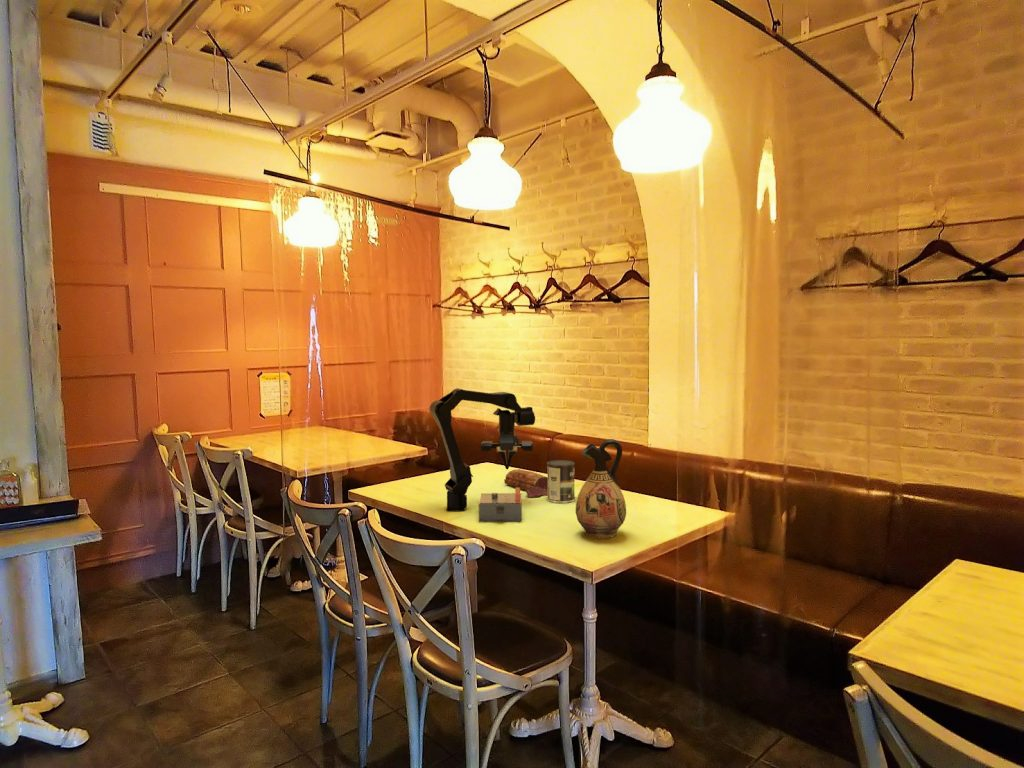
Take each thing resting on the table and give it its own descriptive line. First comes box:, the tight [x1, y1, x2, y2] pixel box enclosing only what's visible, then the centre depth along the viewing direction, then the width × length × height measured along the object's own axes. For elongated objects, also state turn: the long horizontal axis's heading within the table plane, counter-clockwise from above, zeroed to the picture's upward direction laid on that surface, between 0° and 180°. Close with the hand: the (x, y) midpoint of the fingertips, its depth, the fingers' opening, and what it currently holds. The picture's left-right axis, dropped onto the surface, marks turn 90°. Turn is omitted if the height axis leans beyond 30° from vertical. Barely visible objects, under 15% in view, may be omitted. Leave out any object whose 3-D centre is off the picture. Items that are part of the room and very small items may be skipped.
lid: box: [478, 487, 522, 505], centre depth 218 cm, size 14×12×3 cm
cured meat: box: [503, 468, 548, 498], centre depth 255 cm, size 18×25×7 cm
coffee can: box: [546, 459, 576, 504], centre depth 239 cm, size 10×10×14 cm
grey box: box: [478, 492, 523, 523], centre depth 218 cm, size 14×19×6 cm
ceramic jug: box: [575, 438, 627, 540], centre depth 196 cm, size 17×15×30 cm
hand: (507, 469), depth 234 cm, fingers closed
